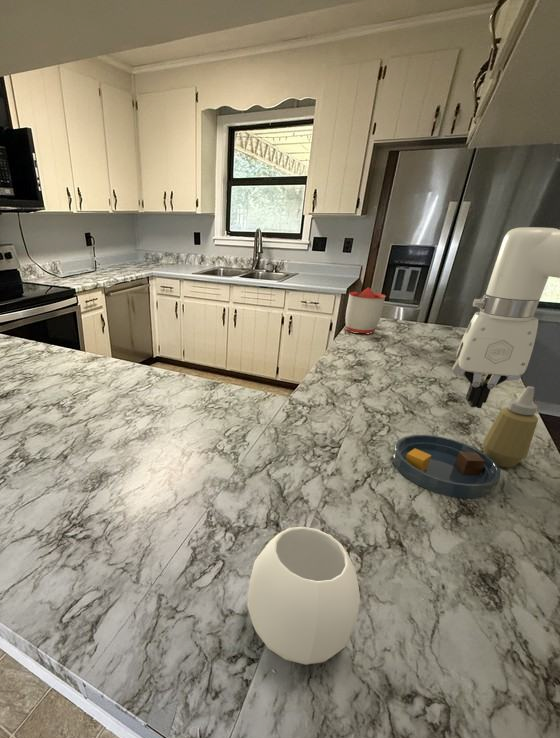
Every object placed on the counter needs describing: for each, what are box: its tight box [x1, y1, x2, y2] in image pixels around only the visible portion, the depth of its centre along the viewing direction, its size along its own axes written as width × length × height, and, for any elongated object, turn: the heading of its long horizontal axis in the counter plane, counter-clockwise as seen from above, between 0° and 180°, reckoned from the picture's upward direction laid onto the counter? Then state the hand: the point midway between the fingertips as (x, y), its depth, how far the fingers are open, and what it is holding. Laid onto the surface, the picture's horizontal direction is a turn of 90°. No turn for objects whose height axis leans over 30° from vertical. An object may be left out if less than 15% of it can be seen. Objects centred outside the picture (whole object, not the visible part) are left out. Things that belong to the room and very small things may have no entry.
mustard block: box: [405, 448, 431, 471], centre depth 84 cm, size 4×4×4 cm
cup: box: [247, 526, 361, 666], centre depth 49 cm, size 13×13×14 cm
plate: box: [391, 434, 501, 499], centre depth 84 cm, size 19×19×4 cm
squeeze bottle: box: [482, 385, 539, 468], centre depth 84 cm, size 8×8×18 cm
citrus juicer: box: [345, 287, 387, 333], centre depth 181 cm, size 16×17×20 cm
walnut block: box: [454, 452, 485, 475], centre depth 83 cm, size 4×4×4 cm
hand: (473, 404), depth 76 cm, fingers closed
